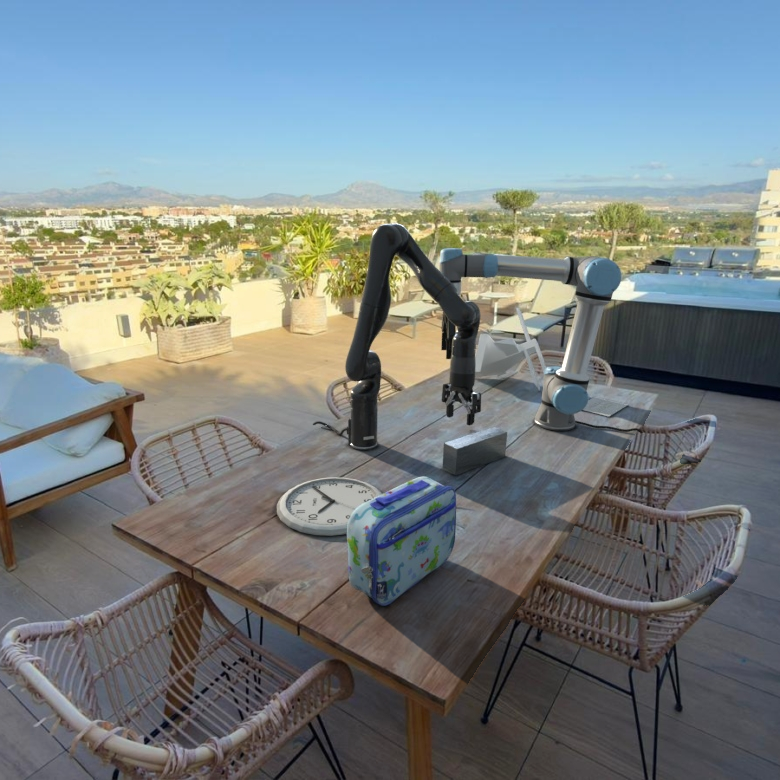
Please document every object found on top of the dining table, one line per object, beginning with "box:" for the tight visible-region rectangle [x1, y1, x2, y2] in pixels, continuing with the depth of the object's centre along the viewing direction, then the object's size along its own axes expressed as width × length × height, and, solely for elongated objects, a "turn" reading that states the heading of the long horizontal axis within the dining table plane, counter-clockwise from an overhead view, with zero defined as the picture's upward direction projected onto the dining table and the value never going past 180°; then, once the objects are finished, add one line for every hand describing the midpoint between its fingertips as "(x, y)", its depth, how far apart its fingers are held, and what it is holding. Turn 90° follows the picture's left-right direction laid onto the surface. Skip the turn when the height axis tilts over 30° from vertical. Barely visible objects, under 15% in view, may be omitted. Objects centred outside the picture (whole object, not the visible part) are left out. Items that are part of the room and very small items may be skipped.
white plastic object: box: [475, 307, 547, 392], centre depth 258 cm, size 37×45×31 cm
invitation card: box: [582, 396, 629, 418], centre depth 226 cm, size 21×1×15 cm
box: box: [442, 426, 508, 476], centre depth 169 cm, size 23×6×9 cm, turn 128°
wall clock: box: [276, 476, 384, 537], centre depth 142 cm, size 30×2×30 cm
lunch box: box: [346, 475, 457, 607], centre depth 111 cm, size 26×11×21 cm, turn 134°
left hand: (459, 420), depth 160 cm, fingers open, 8 cm apart
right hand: (447, 354), depth 187 cm, fingers open, 13 cm apart
